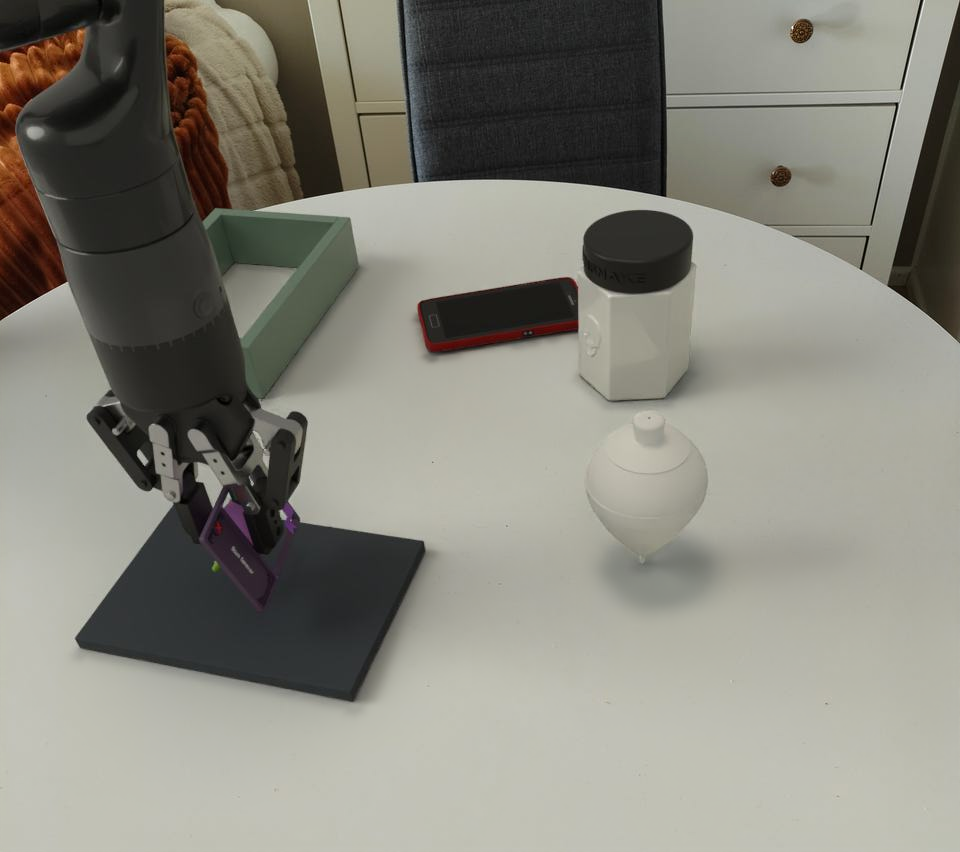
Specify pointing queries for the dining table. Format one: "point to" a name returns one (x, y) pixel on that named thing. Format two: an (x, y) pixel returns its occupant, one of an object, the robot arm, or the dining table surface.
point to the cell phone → (499, 314)
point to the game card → (244, 549)
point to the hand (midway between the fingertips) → (236, 539)
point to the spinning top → (646, 483)
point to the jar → (635, 304)
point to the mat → (240, 627)
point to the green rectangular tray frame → (307, 294)
